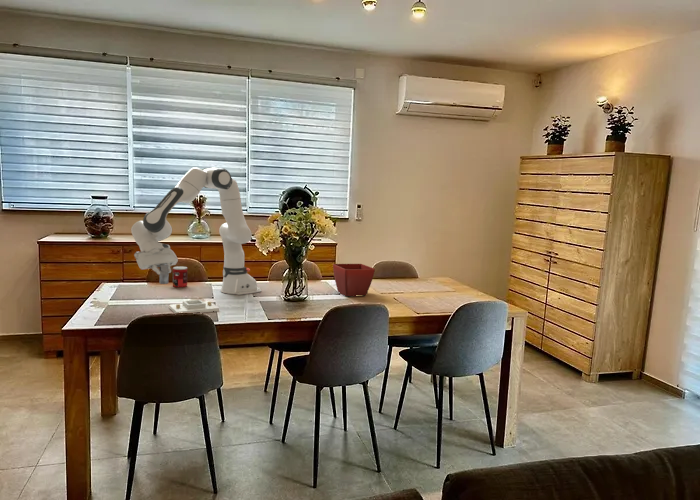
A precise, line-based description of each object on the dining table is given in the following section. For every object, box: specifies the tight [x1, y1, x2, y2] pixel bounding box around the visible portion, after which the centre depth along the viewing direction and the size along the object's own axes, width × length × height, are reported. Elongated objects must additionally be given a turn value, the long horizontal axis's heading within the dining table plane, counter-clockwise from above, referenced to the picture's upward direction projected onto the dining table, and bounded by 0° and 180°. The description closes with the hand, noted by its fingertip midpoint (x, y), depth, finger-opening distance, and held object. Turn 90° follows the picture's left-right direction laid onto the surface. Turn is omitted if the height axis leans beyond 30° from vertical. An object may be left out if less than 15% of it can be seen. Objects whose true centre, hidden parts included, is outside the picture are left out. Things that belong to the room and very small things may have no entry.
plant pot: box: [332, 263, 376, 297], centre depth 289 cm, size 19×19×17 cm
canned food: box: [172, 265, 189, 289], centre depth 283 cm, size 8×8×11 cm
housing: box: [168, 299, 220, 314], centre depth 237 cm, size 20×14×4 cm
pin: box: [159, 264, 170, 285], centre depth 236 cm, size 4×4×9 cm
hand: (165, 273), depth 235 cm, fingers closed on pin, 4 cm apart
